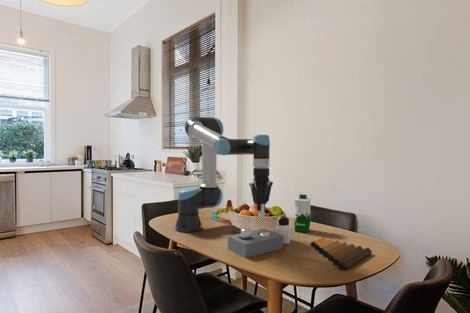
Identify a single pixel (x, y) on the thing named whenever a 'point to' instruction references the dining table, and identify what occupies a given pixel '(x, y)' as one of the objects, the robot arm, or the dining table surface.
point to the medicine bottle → (284, 229)
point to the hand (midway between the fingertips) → (261, 217)
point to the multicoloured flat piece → (226, 210)
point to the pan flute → (340, 252)
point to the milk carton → (302, 213)
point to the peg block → (255, 243)
